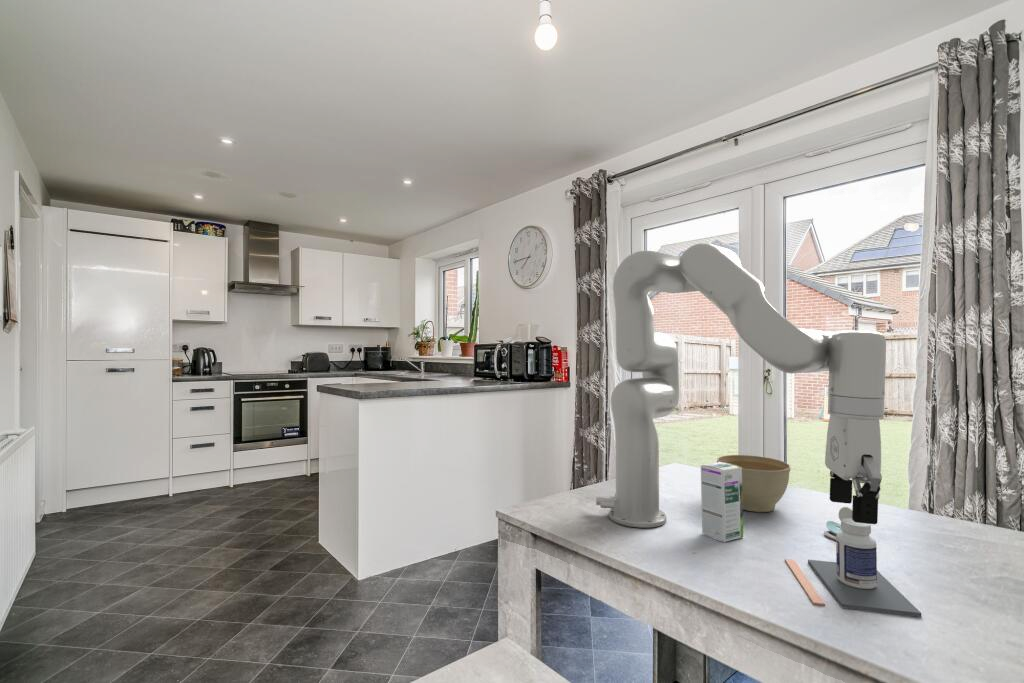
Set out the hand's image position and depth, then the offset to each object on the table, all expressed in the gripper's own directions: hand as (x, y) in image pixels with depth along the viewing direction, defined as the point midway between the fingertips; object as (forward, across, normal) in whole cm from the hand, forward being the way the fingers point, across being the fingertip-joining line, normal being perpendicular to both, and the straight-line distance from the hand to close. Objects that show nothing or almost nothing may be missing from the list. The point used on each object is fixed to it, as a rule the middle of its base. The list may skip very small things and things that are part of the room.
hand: (851, 511), depth 81 cm
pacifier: (+12, -22, +7) cm, 26 cm away
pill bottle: (+12, 0, +1) cm, 12 cm away
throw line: (+12, +1, -7) cm, 14 cm away
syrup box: (+13, -17, -17) cm, 28 cm away
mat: (+12, +1, +1) cm, 12 cm away
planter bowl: (+13, -39, -7) cm, 42 cm away
